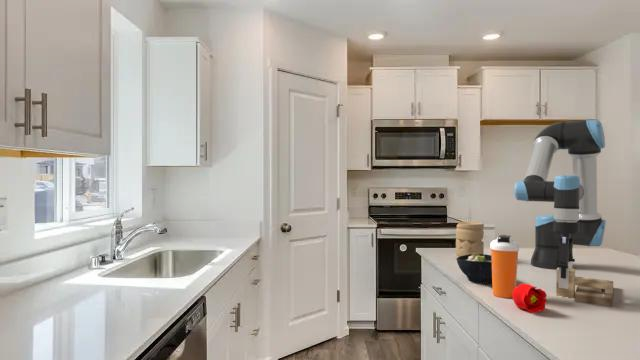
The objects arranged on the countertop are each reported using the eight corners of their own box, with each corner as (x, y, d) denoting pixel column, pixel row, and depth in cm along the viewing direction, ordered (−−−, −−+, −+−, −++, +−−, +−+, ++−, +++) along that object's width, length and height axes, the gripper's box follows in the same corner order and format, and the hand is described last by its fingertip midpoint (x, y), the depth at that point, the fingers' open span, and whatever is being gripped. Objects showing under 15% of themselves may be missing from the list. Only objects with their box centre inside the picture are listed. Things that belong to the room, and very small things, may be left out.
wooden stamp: (556, 296, 142) (556, 269, 142) (558, 292, 146) (558, 266, 146) (608, 303, 134) (608, 275, 133) (608, 300, 138) (609, 272, 138)
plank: (574, 301, 136) (574, 293, 136) (580, 283, 159) (580, 277, 159) (612, 307, 130) (612, 299, 130) (613, 288, 153) (613, 281, 153)
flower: (532, 287, 133) (551, 293, 125) (523, 310, 132) (542, 318, 124) (512, 278, 131) (530, 283, 124) (503, 301, 130) (521, 308, 123)
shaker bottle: (517, 293, 145) (517, 235, 145) (520, 300, 137) (520, 238, 137) (489, 290, 148) (489, 233, 148) (490, 297, 140) (491, 237, 140)
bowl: (504, 278, 167) (504, 253, 167) (503, 288, 151) (503, 260, 151) (459, 274, 174) (459, 249, 174) (453, 283, 158) (454, 256, 158)
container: (457, 262, 198) (458, 224, 198) (453, 257, 210) (454, 221, 210) (486, 263, 196) (486, 224, 196) (480, 258, 208) (480, 221, 208)
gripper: (576, 224, 130) (575, 293, 130) (582, 219, 150) (581, 279, 150) (548, 222, 134) (548, 289, 134) (558, 218, 155) (557, 276, 155)
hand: (565, 284), depth 142 cm, fingers open, 13 cm apart
